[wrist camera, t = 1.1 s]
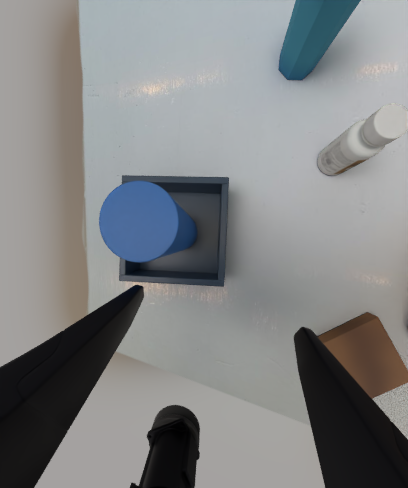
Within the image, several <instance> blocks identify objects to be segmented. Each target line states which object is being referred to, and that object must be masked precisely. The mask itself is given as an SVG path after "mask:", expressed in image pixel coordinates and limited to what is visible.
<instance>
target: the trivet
mask: <svg viewBox="0 0 408 488" xmlns="http://www.w3.org/2000/svg"><path fill="white" fill-rule="evenodd" d="M318 338H319V339H320V340H321V341H322V343H323V344H324V345H325V346H326V347H327V348H328V349H329V351H330V352H331V353H332V354H333V355H334V356H335V357H336V359H337V360H338V361H339V362H340V363H341V364H342V365H343V367H344V368H345V369H346V370H347V371H348V372H349V373H350V375H351V376H352V377H353V378H354V379H355V380H356V381H357V383H358V384H359V385H360V386H361V387H362V388H363V389H364V391H365V392H366V393H367V394H368V395H369V396H370V397H371V399H372V398H374V397H376V396H379V395H381V394H383V393H385V392H388V391H390V390H392V389H394V388H396V387H399V386H401V385H403V384H405V383H408V370H407V368H406V367H405V365H404V363H403V361H402V359H401V357H400V356H399V354H398V352H397V350H396V348H395V347H394V345H393V343H392V341H391V339H390V338H389V336H388V334H387V332H386V330H385V329H384V327H383V325H382V323H381V321H380V320H379V318H378V317H377V316H375V315H372V314H370V313H368V312H367V313H365V314H363V315H361V316H359V317H357V318H355V319H353V320H351V321H349V322H347V323H344V324H342V325H340V326H338V327H336V328H334V329H332V330H330V331H328V332H326V333H324V334H322V335H320V336H318Z"/></svg>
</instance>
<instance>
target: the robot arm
mask: <svg viewBox="0 0 408 488" xmlns="http://www.w3.org/2000/svg"><path fill="white" fill-rule="evenodd" d="M143 298H144V289H143V286H140V285H135V286H133V287H131V288H130V289H128V290H127V291H125V292H123V293H122V294H120V295H119V296H117V297H116V298H114V299H112V300H111V301H109V302H108V303H106V304H104V305H103V306H101V307H100V308H98V309H96V310H95V311H93V312H92V313H90V314H89V315H87V316H85V317H84V318H82V319H81V320H79V321H77V322H76V323H74V324H73V325H71V326H70V327H68V328H66V329H65V330H64V331H61V332H60V333H58V334H57V335H55V336H53V337H52V338H50V339H49V340H47V341H45V342H44V343H42V344H40V345H39V346H37V347H35V348H34V349H32V350H30V351H28V352H27V353H25V354H23V355H21V356H20V357H18V358H16V359H14V360H12V361H11V362H9V363H7V364H5V365H3V366H1V367H0V488H34V487H35V485H36V483H37V482H38V480H39V479H40V477H41V475H42V474H43V472H44V470H45V468H46V467H47V465H48V463H49V462H50V460H51V458H52V457H53V455H54V453H55V452H56V450H57V448H58V447H59V445H60V443H61V442H62V440H63V438H64V437H65V435H66V433H67V430H69V428H70V426H71V425H72V423H73V421H74V420H75V418H76V416H77V415H78V413H79V411H80V410H81V408H82V406H83V405H84V403H85V401H86V400H87V398H88V396H89V394H90V393H91V391H92V389H93V388H94V386H95V385H96V383H97V381H98V380H99V378H100V376H101V375H102V373H103V371H104V369H105V368H106V366H107V364H108V363H109V361H110V359H111V358H112V356H113V354H114V353H115V351H116V349H117V348H118V346H119V344H120V343H121V341H122V339H123V338H124V336H125V334H126V333H127V331H128V329H129V327H130V326H131V324H132V322H133V320H134V317H135V315H136V313H137V311H138V309H139V307H140V305H141V302H142V300H143ZM294 343H295V351H296V358H297V365H298V371H299V376H300V380H301V385H302V389H303V393H304V397H305V402H306V406H307V410H308V415H309V419H310V423H311V428H312V432H313V436H314V441H315V445H316V449H317V453H318V457H319V462H320V466H321V470H322V475H323V479H324V483H325V488H408V439H407V438H406V437H405V436H404V435H403V434H402V433H401V432H400V430H399V429H398V428H397V427H396V426H395V425H394V424H393V422H391V421H390V419H389V418H388V417H387V416H386V415H385V413H384V412H383V411H382V410H381V409H380V408H379V407H378V405H377V404H376V403H375V402H374V401H373V400H372V399H371V397H370V396H369V395H368V394H367V393H366V392H365V391H364V389H363V388H362V387H361V386H360V385H359V384H358V383H357V381H356V380H355V379H354V378H353V377H352V376H351V375H350V373H349V372H348V371H347V370H346V369H345V368H344V367H343V365H342V364H341V363H340V362H339V361H338V360H337V359H336V357H335V356H334V355H333V354H332V353H331V352H330V351H329V349H328V348H327V347H326V346H325V345H324V344H323V343H322V341H321V340H320V339H319V338H318V337H317V336H316V335H315V333H314V332H313V331H312V330H311V329H309V328H305V327H301V328H300V329H299V330H298V331H297V332H296V333H295V335H294ZM147 438H148V440H149V443H150V445H151V447H150V450H149V454H148V457H147V460H146V464H145V467H144V470H143V474H142V477H141V480H140V484H139V486H137V485H136V484H135V483H131V486H130V488H194V486H195V474H196V461H197V460H198V459H199V454H200V453H199V450H198V448H197V445H196V443H195V441H194V438H193V436H192V434H191V433H190V431H189V428H188V426H187V424H186V422H185V420H184V419H183V418H180V419H178V420H175V421H173V422H170V423H168V424H165V425H163V426H160V427H157V428H155V429H152V430H150V431H149V432H148V434H147Z"/></svg>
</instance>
